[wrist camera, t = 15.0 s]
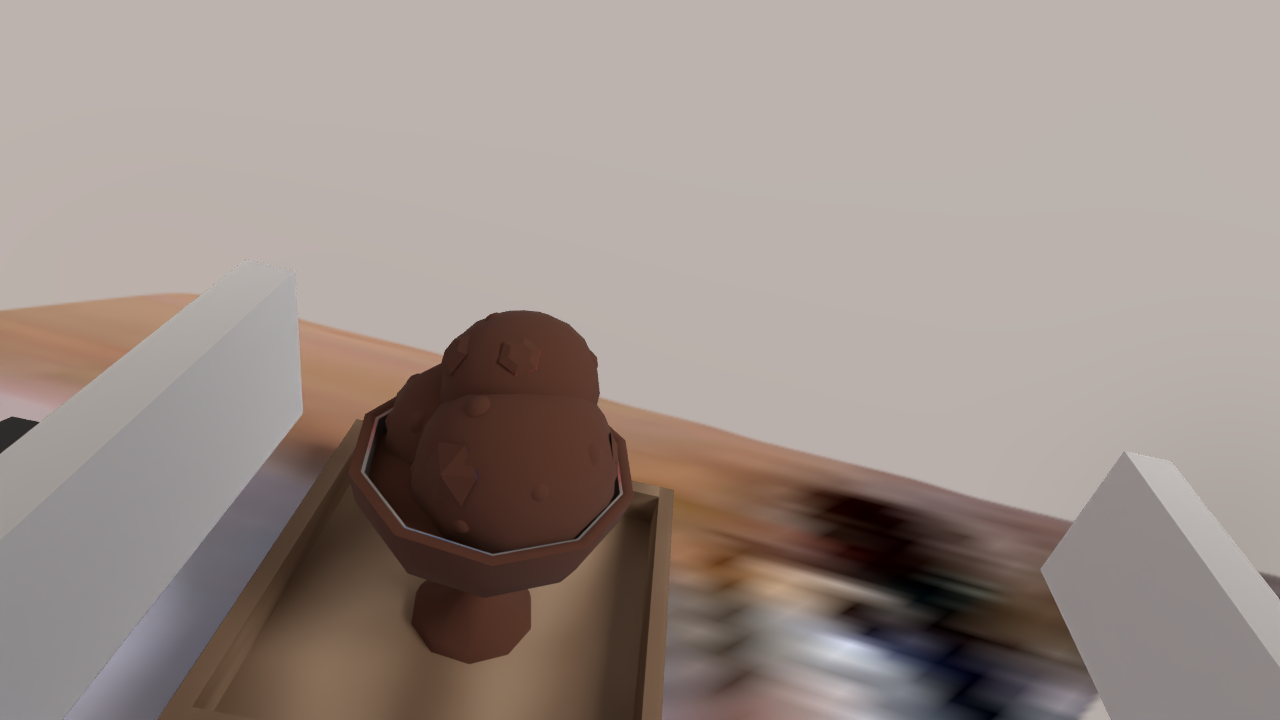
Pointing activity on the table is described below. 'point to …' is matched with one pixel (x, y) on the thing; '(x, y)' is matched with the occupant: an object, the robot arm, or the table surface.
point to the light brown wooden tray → (396, 654)
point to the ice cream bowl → (492, 478)
